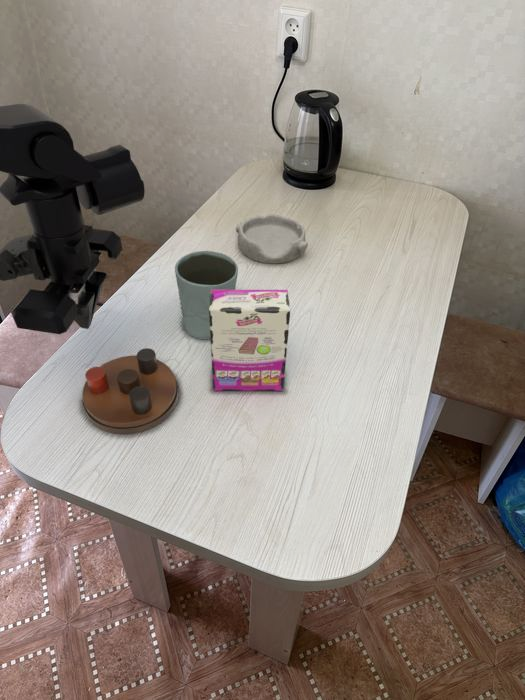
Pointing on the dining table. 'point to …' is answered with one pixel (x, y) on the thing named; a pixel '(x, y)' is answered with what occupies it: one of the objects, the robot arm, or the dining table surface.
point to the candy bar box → (248, 339)
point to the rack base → (137, 428)
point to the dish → (271, 238)
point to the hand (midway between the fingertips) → (85, 326)
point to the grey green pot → (202, 287)
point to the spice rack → (129, 390)
